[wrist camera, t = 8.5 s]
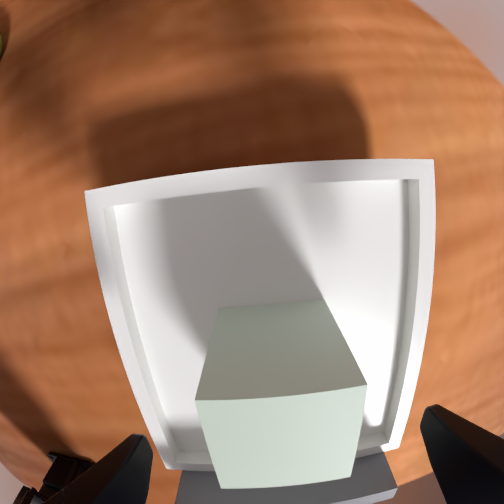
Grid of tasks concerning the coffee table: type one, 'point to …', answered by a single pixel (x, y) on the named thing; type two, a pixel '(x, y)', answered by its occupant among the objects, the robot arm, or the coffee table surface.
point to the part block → (280, 396)
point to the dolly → (269, 294)
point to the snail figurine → (0, 43)
